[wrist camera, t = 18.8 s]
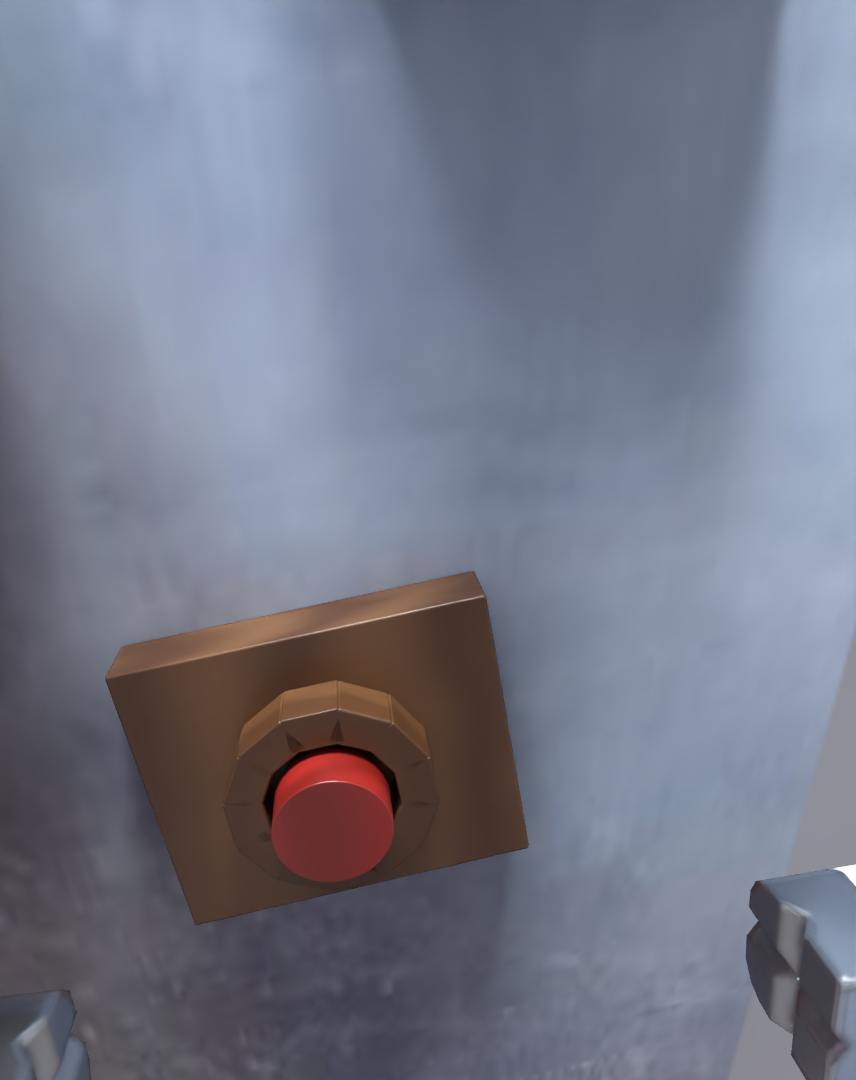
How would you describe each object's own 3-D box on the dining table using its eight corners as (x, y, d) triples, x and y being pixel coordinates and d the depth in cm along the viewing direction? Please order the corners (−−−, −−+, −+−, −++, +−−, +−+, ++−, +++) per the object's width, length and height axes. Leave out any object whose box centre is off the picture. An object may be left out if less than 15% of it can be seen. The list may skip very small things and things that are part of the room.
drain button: (377, 735, 25) (380, 769, 23) (400, 829, 26) (404, 867, 24) (261, 761, 25) (257, 797, 23) (290, 854, 26) (287, 895, 24)
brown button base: (474, 569, 27) (497, 619, 24) (516, 809, 31) (542, 885, 27) (121, 646, 27) (86, 709, 23) (203, 880, 30) (186, 969, 26)
